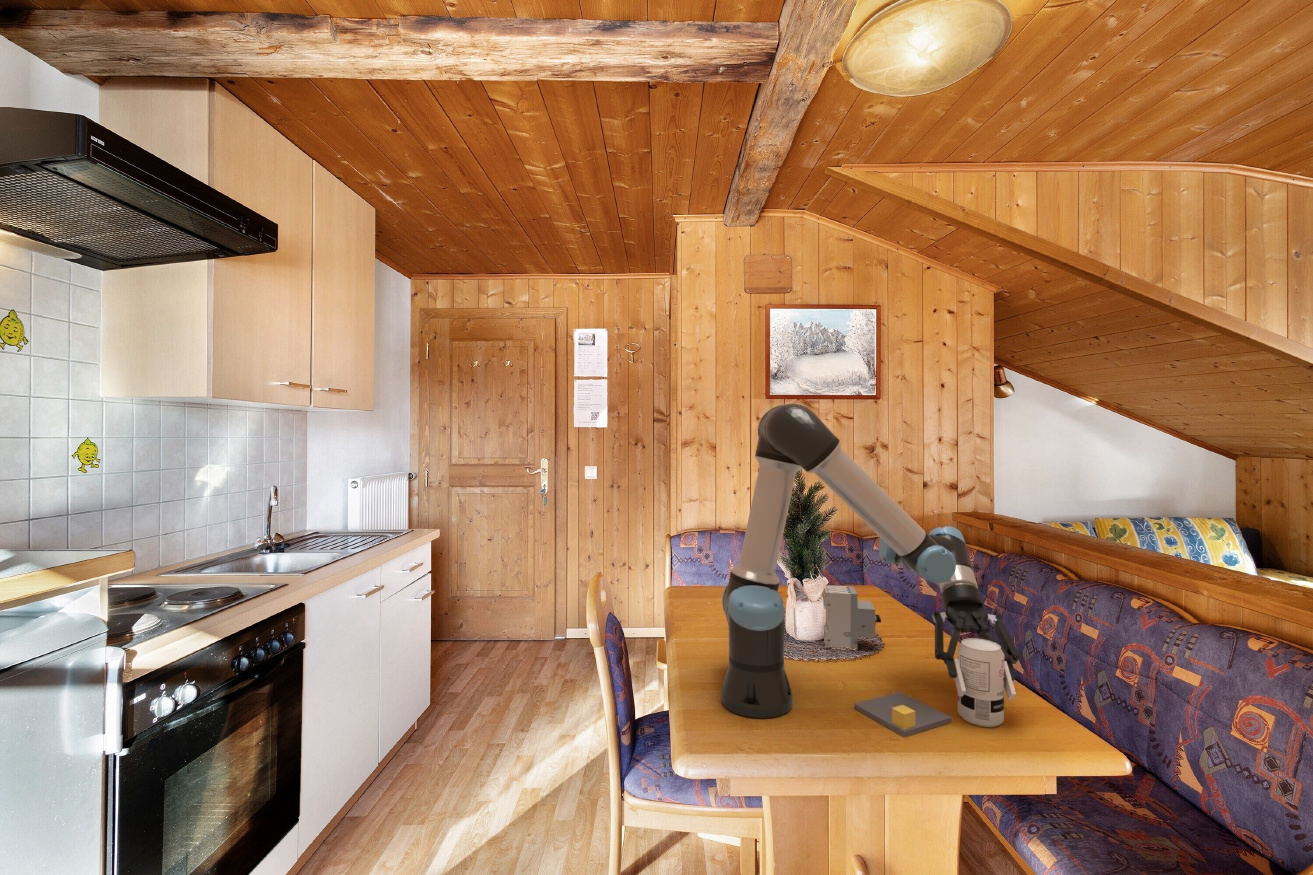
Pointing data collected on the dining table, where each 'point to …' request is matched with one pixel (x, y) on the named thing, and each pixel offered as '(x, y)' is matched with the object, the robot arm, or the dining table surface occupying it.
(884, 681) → the dining table surface
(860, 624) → the circuit breaker
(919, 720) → the pad
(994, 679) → the supplement can
